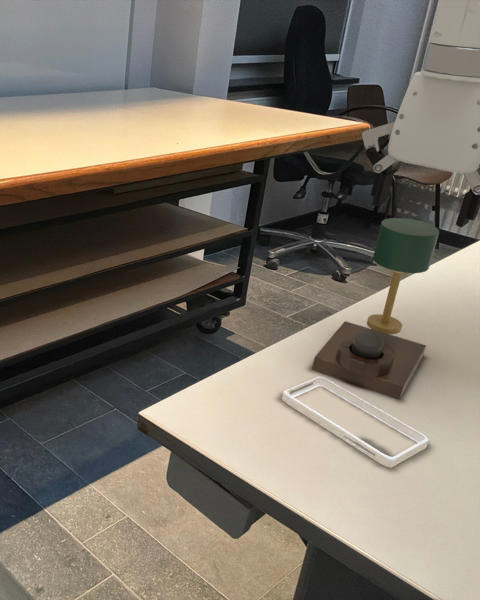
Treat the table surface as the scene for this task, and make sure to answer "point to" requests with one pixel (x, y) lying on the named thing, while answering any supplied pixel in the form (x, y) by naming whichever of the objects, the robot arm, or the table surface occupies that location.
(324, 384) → the phone case
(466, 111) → the robot arm
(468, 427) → the table surface
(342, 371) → the lamp base
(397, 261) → the lamp
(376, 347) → the lamp switch
